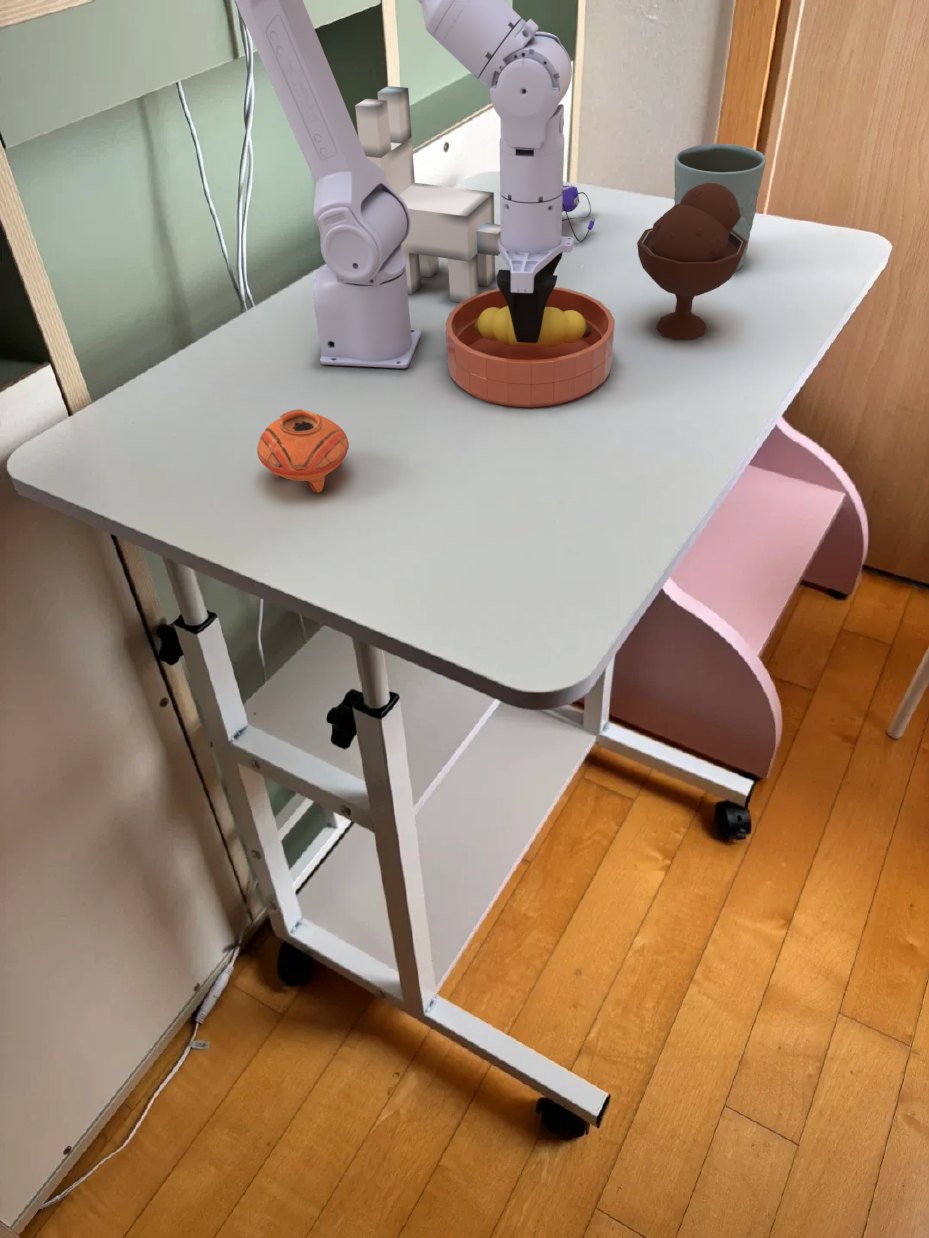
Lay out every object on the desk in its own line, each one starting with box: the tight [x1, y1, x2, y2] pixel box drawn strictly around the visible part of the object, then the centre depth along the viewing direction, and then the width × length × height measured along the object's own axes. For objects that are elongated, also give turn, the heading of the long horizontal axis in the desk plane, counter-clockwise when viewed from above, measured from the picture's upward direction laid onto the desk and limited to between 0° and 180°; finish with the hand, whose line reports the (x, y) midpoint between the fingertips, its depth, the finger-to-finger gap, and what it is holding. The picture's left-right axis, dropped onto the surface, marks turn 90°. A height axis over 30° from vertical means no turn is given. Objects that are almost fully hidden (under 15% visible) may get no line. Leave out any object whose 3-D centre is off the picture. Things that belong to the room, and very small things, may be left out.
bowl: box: [445, 286, 615, 408], centre depth 98 cm, size 17×17×5 cm
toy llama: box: [354, 85, 501, 304], centre depth 108 cm, size 8×18×20 cm, turn 66°
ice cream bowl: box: [636, 182, 747, 341], centre depth 99 cm, size 11×11×15 cm
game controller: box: [562, 184, 596, 242], centre depth 124 cm, size 10×8×10 cm
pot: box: [256, 408, 350, 494], centre depth 84 cm, size 8×8×7 cm
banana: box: [474, 306, 591, 347], centre depth 97 cm, size 12×4×4 cm, turn 81°
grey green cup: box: [673, 143, 767, 273], centre depth 113 cm, size 10×10×12 cm
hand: (529, 331), depth 97 cm, fingers closed on banana, 4 cm apart
